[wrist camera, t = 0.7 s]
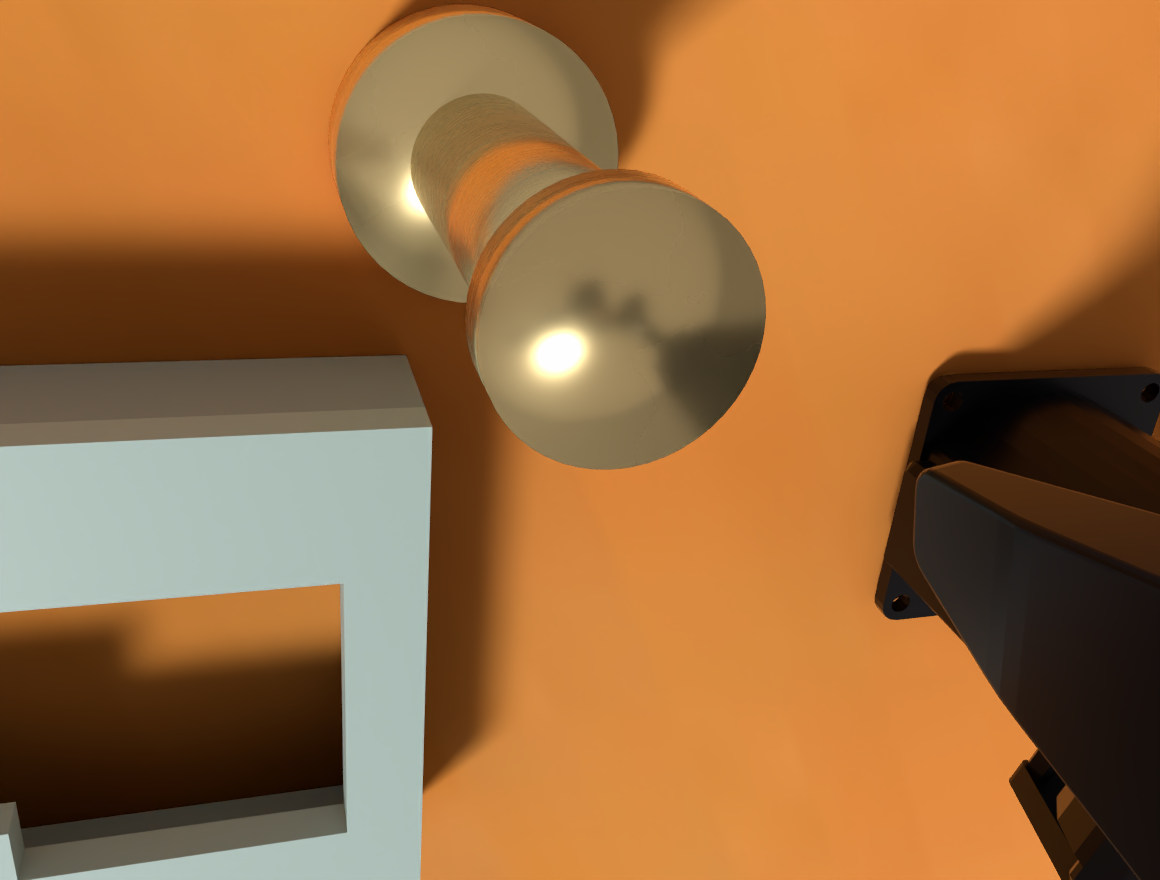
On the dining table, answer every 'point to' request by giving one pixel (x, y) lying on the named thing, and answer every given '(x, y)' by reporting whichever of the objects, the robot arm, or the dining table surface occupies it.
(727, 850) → the dining table surface
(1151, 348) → the dining table surface
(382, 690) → the keyhole plate
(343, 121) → the brass door knob
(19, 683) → the dining table surface
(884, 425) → the dining table surface
